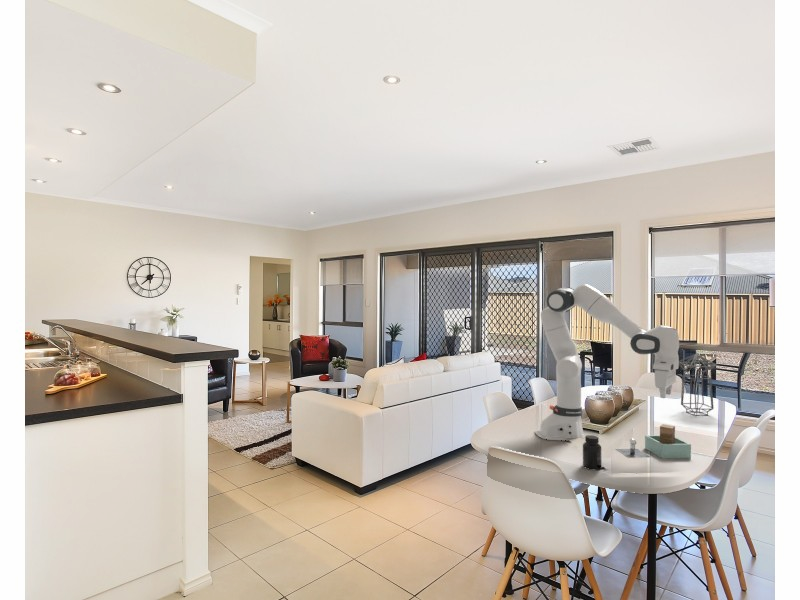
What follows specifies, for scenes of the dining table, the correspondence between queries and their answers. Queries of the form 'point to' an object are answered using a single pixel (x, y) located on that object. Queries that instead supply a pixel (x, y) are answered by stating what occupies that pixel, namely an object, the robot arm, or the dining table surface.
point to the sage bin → (668, 447)
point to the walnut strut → (667, 434)
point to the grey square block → (632, 451)
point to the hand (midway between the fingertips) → (665, 396)
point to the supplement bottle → (592, 453)
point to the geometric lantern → (698, 382)
